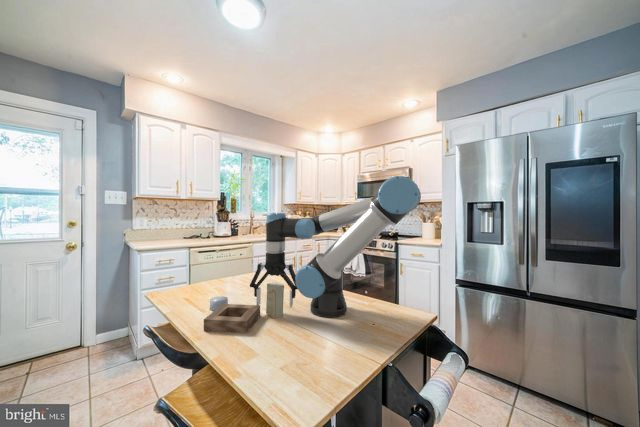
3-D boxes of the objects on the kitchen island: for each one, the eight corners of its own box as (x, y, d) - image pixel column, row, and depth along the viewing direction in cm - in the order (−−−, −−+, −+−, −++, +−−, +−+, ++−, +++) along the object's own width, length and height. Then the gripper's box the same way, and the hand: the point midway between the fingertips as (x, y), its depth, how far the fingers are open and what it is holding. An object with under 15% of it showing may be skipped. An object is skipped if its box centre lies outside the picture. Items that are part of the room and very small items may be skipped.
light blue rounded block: (230, 305, 114) (230, 296, 114) (223, 312, 107) (223, 302, 107) (214, 305, 115) (214, 296, 115) (206, 311, 108) (206, 301, 108)
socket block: (260, 315, 104) (260, 305, 104) (246, 333, 89) (246, 321, 89) (223, 313, 105) (223, 303, 105) (203, 331, 90) (203, 319, 90)
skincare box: (265, 313, 106) (266, 283, 106) (275, 311, 109) (275, 281, 109) (274, 318, 101) (274, 287, 101) (284, 315, 104) (284, 285, 104)
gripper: (307, 251, 107) (306, 303, 108) (248, 249, 109) (247, 300, 110) (305, 254, 100) (304, 310, 100) (241, 252, 102) (241, 307, 102)
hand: (274, 305), depth 105 cm, fingers open, 12 cm apart
